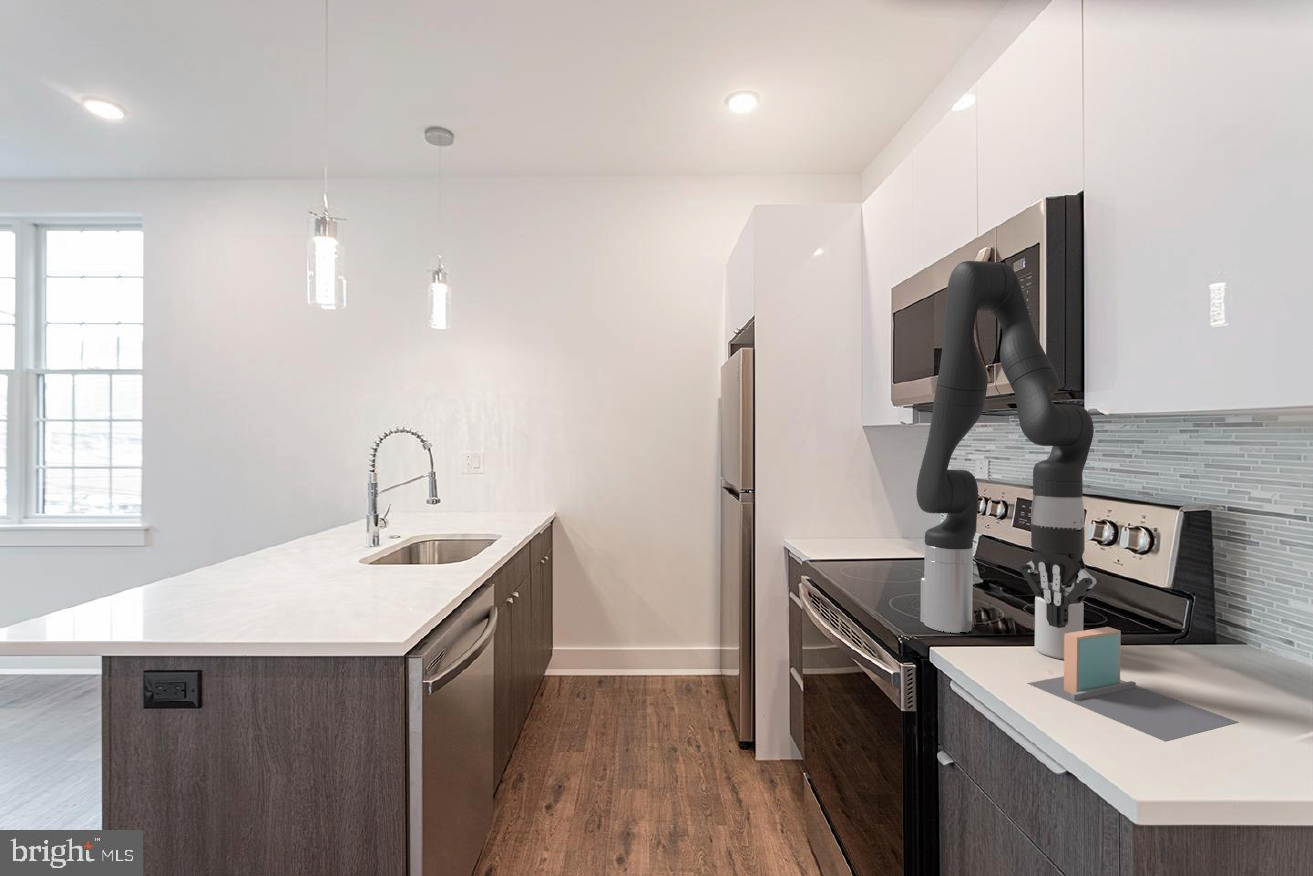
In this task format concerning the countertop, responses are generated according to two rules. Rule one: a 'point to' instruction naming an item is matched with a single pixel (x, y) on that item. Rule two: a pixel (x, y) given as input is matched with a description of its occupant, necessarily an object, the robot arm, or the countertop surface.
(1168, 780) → the countertop surface
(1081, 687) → the tile
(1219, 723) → the mat
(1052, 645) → the can
